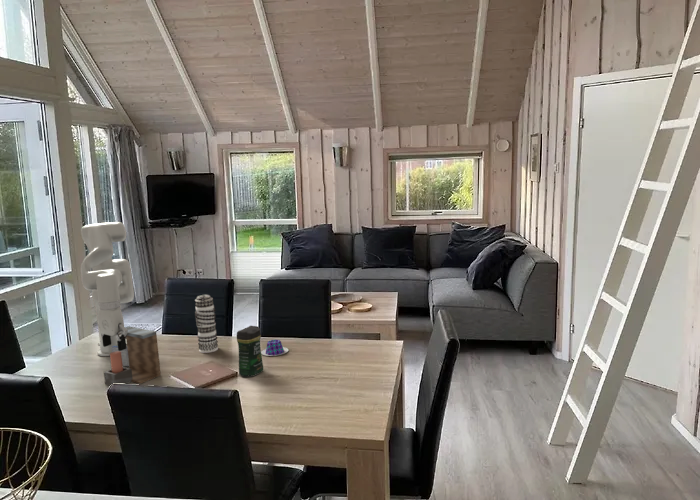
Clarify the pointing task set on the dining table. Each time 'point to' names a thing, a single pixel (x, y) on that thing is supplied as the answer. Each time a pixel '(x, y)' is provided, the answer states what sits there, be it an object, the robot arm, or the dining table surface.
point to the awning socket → (138, 358)
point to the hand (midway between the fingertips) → (114, 347)
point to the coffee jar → (249, 351)
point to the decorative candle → (206, 324)
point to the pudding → (274, 348)
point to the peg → (116, 362)
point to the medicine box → (122, 354)
